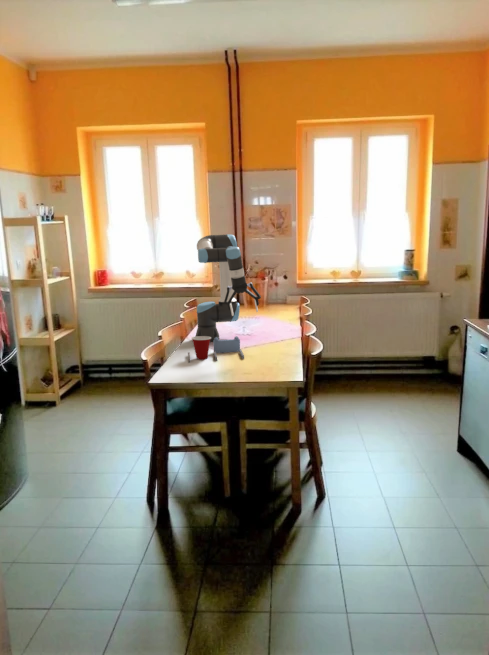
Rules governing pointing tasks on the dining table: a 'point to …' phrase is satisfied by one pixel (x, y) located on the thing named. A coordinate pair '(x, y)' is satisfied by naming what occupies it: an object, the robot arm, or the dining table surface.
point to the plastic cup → (201, 346)
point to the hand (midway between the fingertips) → (245, 313)
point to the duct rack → (225, 347)
